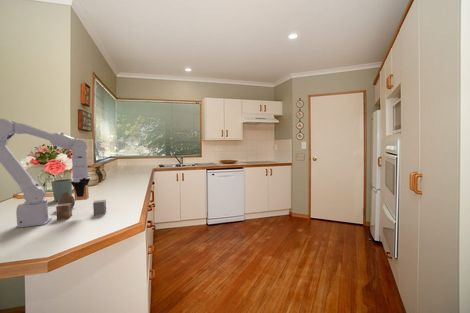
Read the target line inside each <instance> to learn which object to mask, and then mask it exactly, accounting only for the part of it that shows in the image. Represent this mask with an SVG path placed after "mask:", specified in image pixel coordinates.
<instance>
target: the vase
mask: <svg viewBox="0 0 470 313" xmlns="http://www.w3.org/2000/svg"><path fill="white" fill-rule="evenodd" d="M67 203H71V205H72V209H73V208H74V206H75V203H76V201H75V196H73V194H72V195H71V194H70V193H69V192H63V194H62V196H61V197H60V198H59V200H58V201H57V206H58V205H59V204H67Z"/></svg>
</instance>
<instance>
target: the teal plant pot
mask: <svg viewBox="0 0 470 313" xmlns="http://www.w3.org/2000/svg"><path fill="white" fill-rule="evenodd" d="M72 181H73V178H66V179H56V180H55V179H53V180H51V181H50V182H51V188H52V194H53V201H54V202H58V200H59V198H60V197H61V196H62V194H63V192H69V193H70V194H71V195H72V196H73V194H72V193H73V185H72V184H71V182H72Z"/></svg>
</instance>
